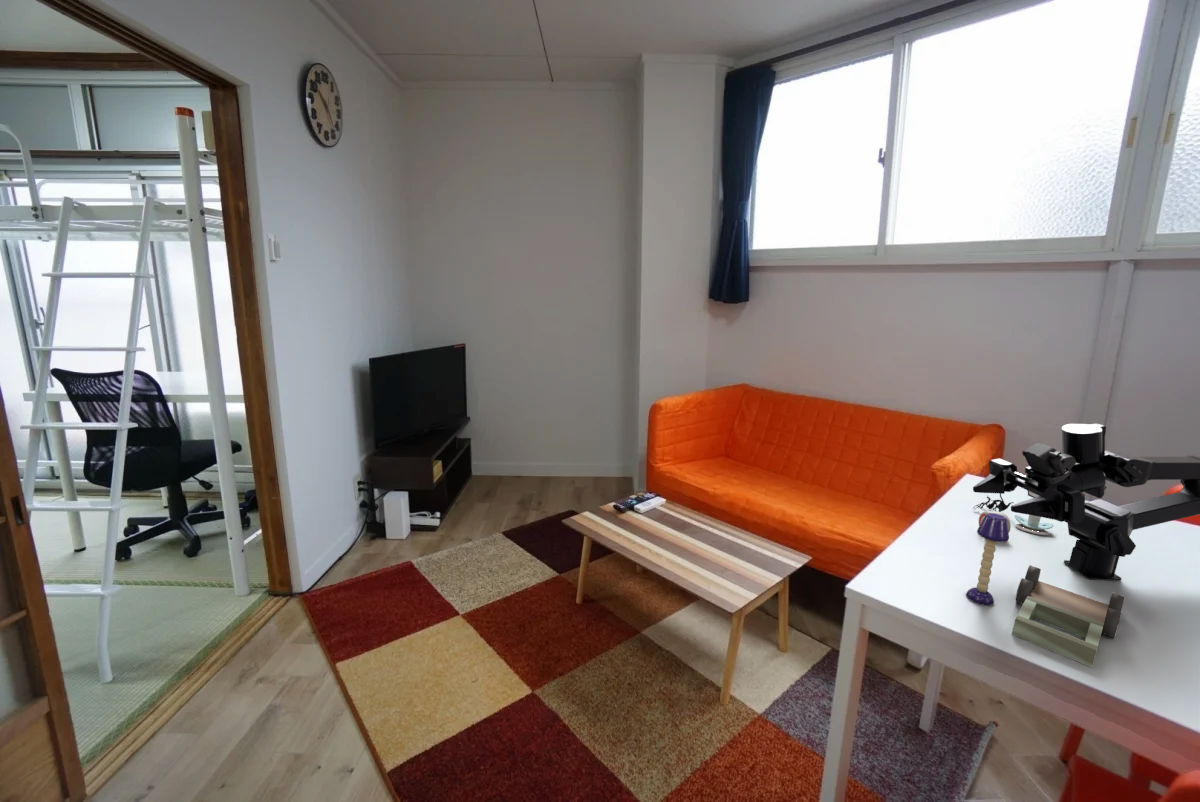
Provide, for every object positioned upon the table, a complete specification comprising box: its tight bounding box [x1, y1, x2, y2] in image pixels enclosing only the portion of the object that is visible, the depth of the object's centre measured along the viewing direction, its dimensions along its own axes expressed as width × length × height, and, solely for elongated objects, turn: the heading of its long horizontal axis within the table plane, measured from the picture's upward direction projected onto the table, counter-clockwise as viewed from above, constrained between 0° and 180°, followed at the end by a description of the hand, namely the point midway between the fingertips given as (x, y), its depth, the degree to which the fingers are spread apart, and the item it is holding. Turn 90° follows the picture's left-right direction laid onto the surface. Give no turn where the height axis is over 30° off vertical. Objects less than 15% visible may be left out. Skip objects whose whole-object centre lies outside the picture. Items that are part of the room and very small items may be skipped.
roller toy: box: [978, 510, 1012, 533], centre depth 121 cm, size 4×6×6 cm
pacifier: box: [1014, 514, 1055, 536], centre depth 124 cm, size 7×6×6 cm
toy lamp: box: [965, 513, 1010, 607], centre depth 95 cm, size 5×5×17 cm
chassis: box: [1011, 565, 1125, 668], centre depth 90 cm, size 22×13×4 cm, turn 132°
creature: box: [973, 494, 1015, 512], centre depth 134 cm, size 8×5×8 cm
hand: (991, 498), depth 101 cm, fingers open, 9 cm apart
